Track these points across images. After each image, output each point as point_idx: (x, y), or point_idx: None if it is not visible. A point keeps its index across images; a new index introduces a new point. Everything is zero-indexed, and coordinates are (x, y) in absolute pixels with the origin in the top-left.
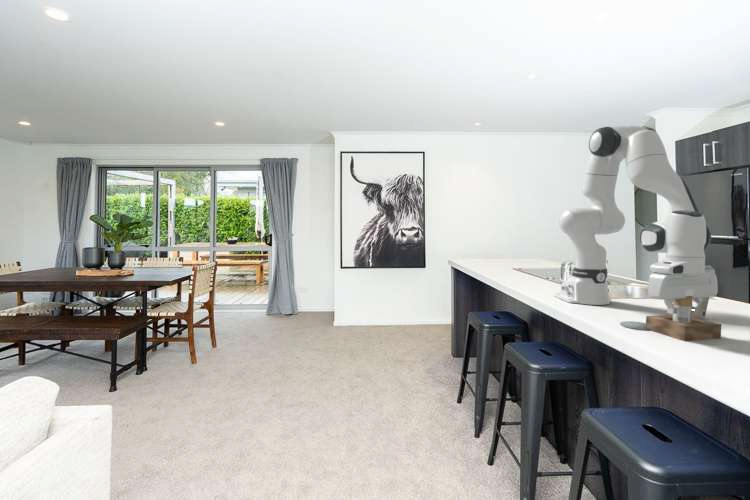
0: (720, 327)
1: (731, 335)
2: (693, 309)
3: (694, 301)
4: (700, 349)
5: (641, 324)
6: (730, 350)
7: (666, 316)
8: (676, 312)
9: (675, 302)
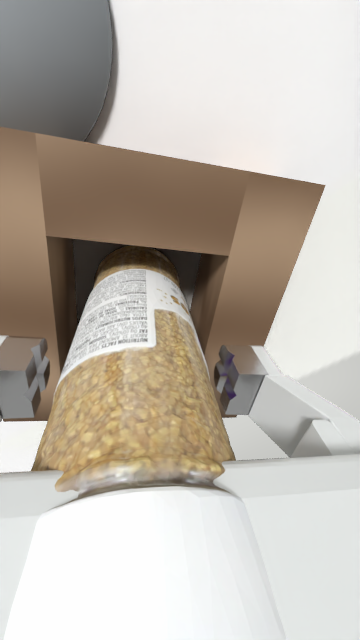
0: None
1: (299, 354)
2: (222, 393)
3: (303, 424)
4: (3, 433)
5: (22, 13)
6: None
7: (131, 208)
8: (39, 384)
9: (47, 426)
